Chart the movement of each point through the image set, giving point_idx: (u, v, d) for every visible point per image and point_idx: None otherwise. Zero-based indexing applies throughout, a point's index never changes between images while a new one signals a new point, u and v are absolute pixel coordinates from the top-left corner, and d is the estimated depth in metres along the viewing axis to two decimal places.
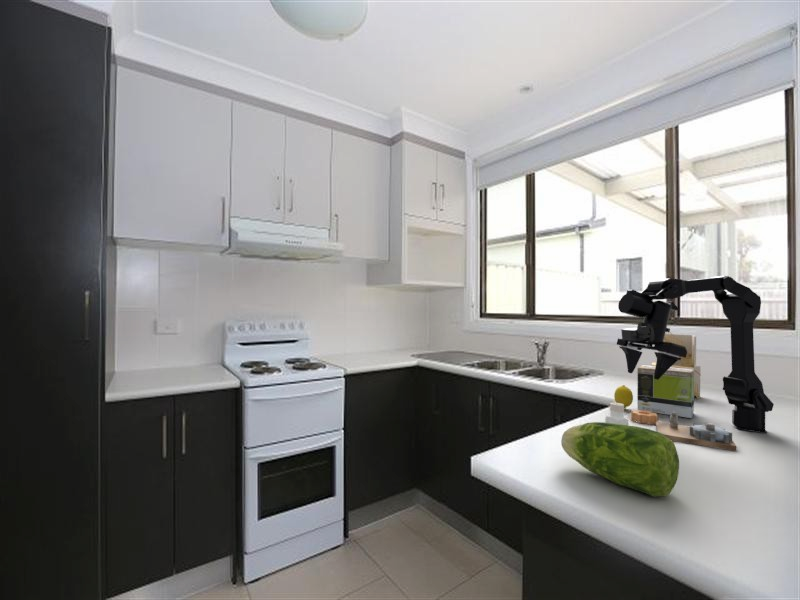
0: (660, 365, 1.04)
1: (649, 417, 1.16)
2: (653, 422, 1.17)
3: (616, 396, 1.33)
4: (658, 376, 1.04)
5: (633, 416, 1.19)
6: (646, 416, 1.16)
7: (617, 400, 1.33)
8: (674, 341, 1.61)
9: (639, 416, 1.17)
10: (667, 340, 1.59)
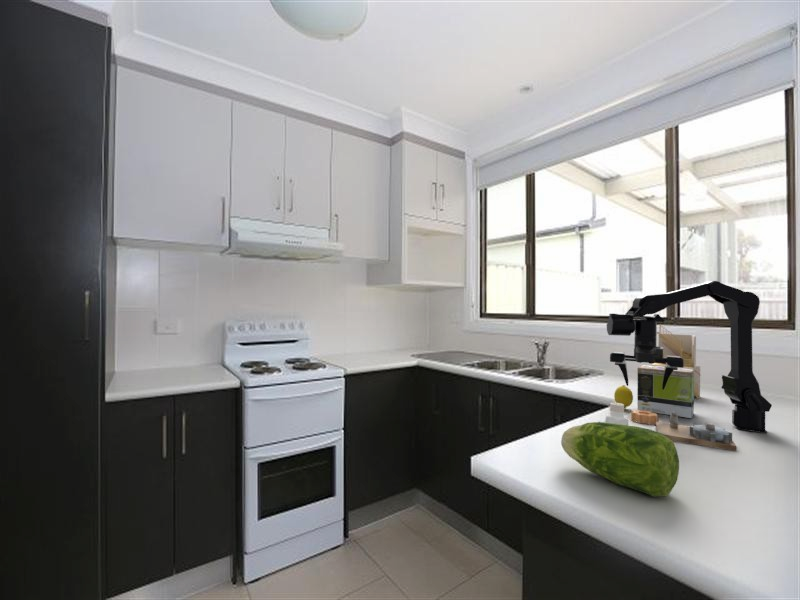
0: (668, 377, 1.15)
1: (649, 417, 1.16)
2: (653, 422, 1.17)
3: (616, 396, 1.33)
4: (664, 386, 1.17)
5: (633, 416, 1.19)
6: (646, 416, 1.16)
7: (617, 400, 1.33)
8: (674, 341, 1.61)
9: (639, 416, 1.17)
10: (667, 340, 1.59)
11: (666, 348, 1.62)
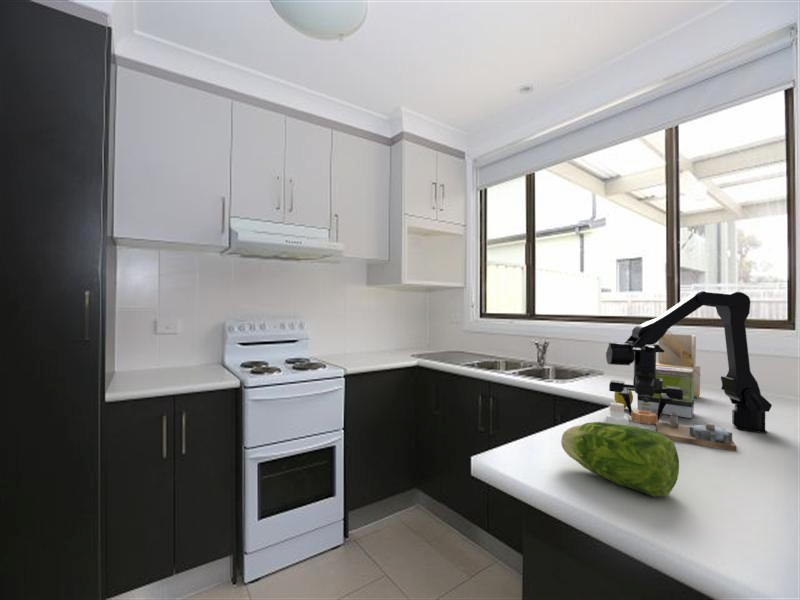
0: None
1: (649, 417, 1.16)
2: (653, 422, 1.17)
3: (616, 396, 1.33)
4: (659, 416, 1.17)
5: (633, 416, 1.19)
6: (646, 416, 1.16)
7: (617, 400, 1.33)
8: (674, 341, 1.61)
9: (639, 416, 1.17)
10: (667, 340, 1.59)
11: (666, 348, 1.62)
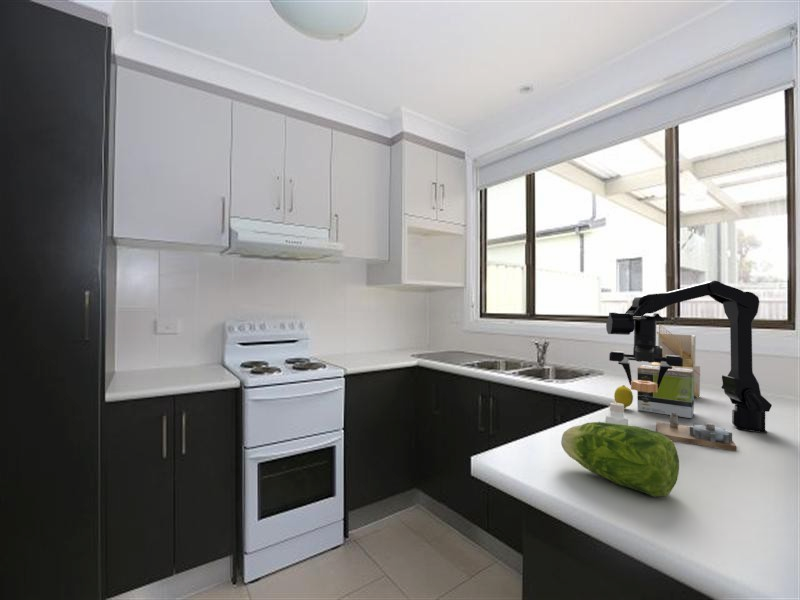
0: None
1: (649, 385, 1.16)
2: (653, 390, 1.17)
3: (616, 396, 1.33)
4: (659, 385, 1.17)
5: (633, 385, 1.20)
6: (646, 384, 1.17)
7: (617, 400, 1.33)
8: (674, 341, 1.61)
9: (639, 385, 1.17)
10: (667, 340, 1.59)
11: (666, 348, 1.62)
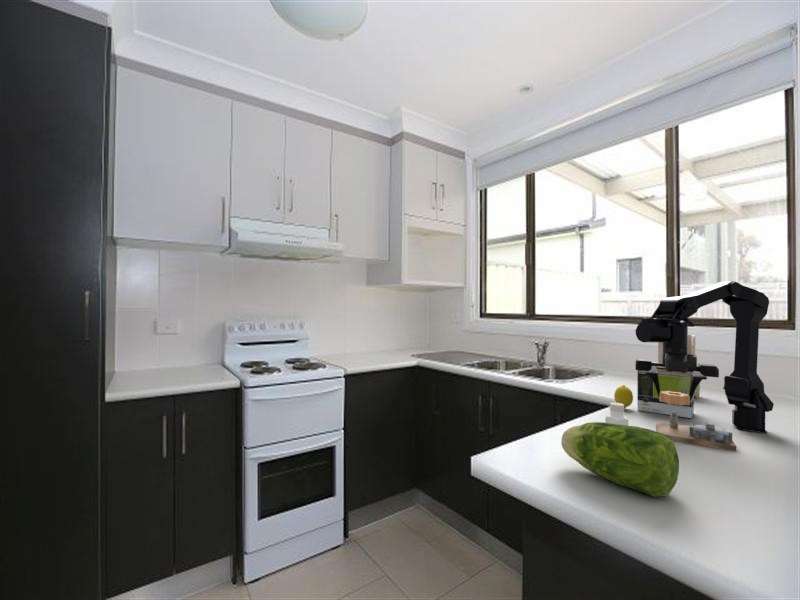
0: (696, 387, 1.06)
1: (681, 397, 1.05)
2: (685, 403, 1.06)
3: (616, 396, 1.33)
4: (691, 397, 1.07)
5: (662, 397, 1.09)
6: (677, 397, 1.06)
7: (617, 400, 1.33)
8: None
9: (669, 397, 1.07)
10: None
11: None
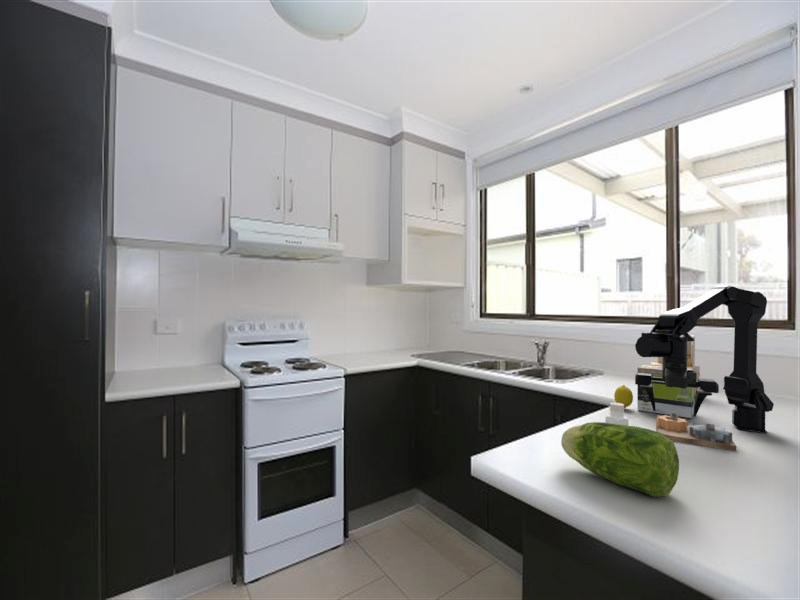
0: None
1: (678, 423, 1.06)
2: (683, 429, 1.06)
3: (616, 396, 1.33)
4: (696, 413, 1.06)
5: (660, 422, 1.09)
6: (675, 422, 1.06)
7: (617, 400, 1.33)
8: None
9: (667, 422, 1.07)
10: None
11: None
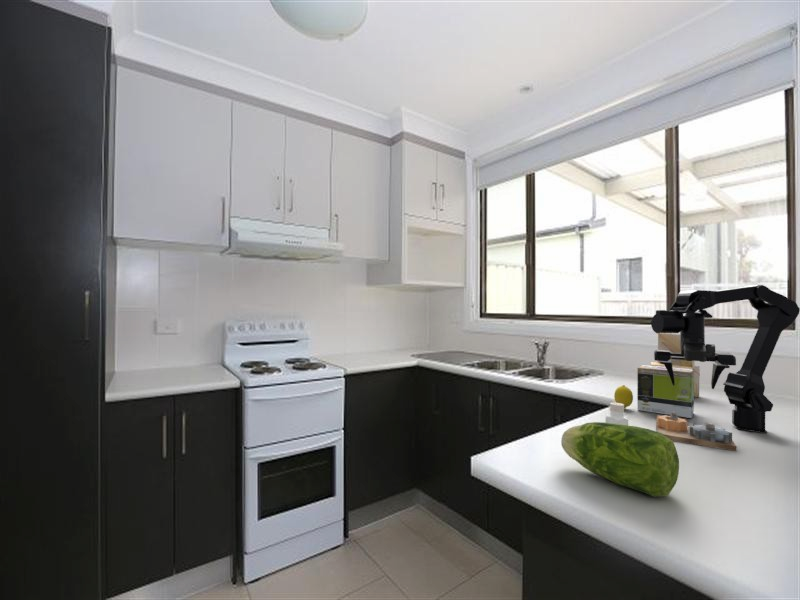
0: None
1: (678, 423, 1.06)
2: (683, 429, 1.06)
3: (616, 396, 1.33)
4: (714, 385, 1.11)
5: (660, 422, 1.09)
6: (675, 422, 1.06)
7: (617, 400, 1.33)
8: (673, 341, 1.61)
9: (667, 422, 1.07)
10: (666, 340, 1.59)
11: (665, 348, 1.62)
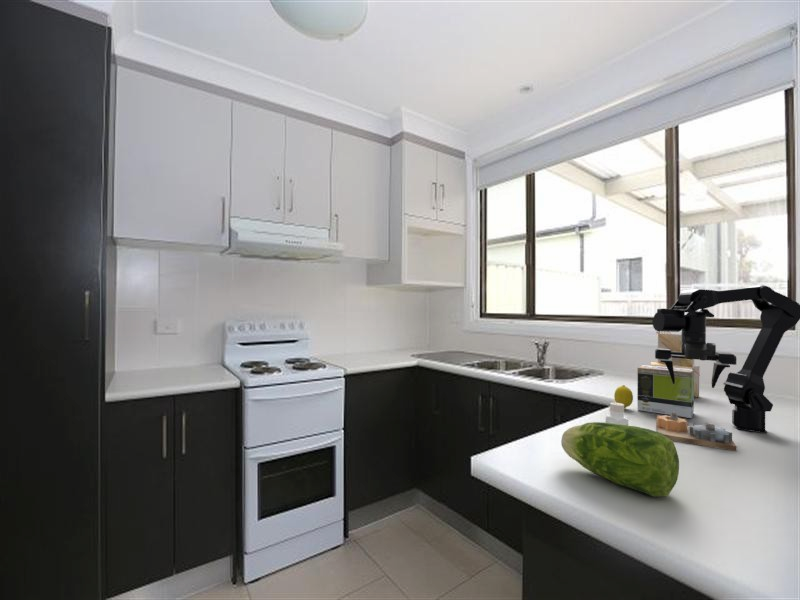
0: None
1: (678, 423, 1.06)
2: (683, 429, 1.06)
3: (616, 396, 1.33)
4: (714, 384, 1.12)
5: (660, 422, 1.09)
6: (675, 422, 1.06)
7: (617, 400, 1.33)
8: (673, 341, 1.61)
9: (667, 422, 1.07)
10: (666, 340, 1.60)
11: (665, 348, 1.63)
